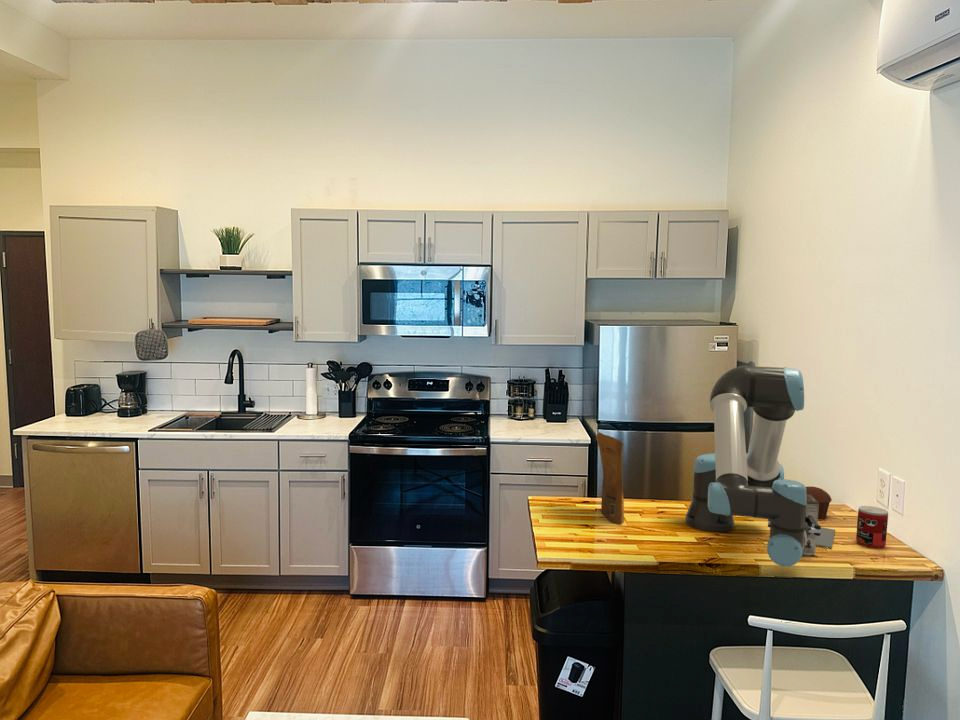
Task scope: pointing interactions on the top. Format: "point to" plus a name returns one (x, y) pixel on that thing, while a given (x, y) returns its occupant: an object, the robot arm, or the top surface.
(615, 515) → the pancake mix bag
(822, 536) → the mat
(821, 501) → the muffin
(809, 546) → the coffee box
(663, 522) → the top surface
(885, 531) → the canned food
